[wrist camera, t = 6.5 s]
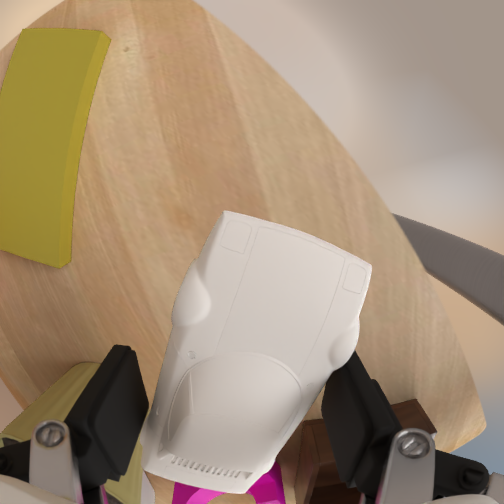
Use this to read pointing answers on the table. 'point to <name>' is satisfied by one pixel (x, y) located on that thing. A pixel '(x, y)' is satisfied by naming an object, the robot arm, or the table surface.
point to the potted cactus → (57, 407)
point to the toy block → (263, 490)
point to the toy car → (249, 350)
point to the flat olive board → (45, 138)
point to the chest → (323, 463)
